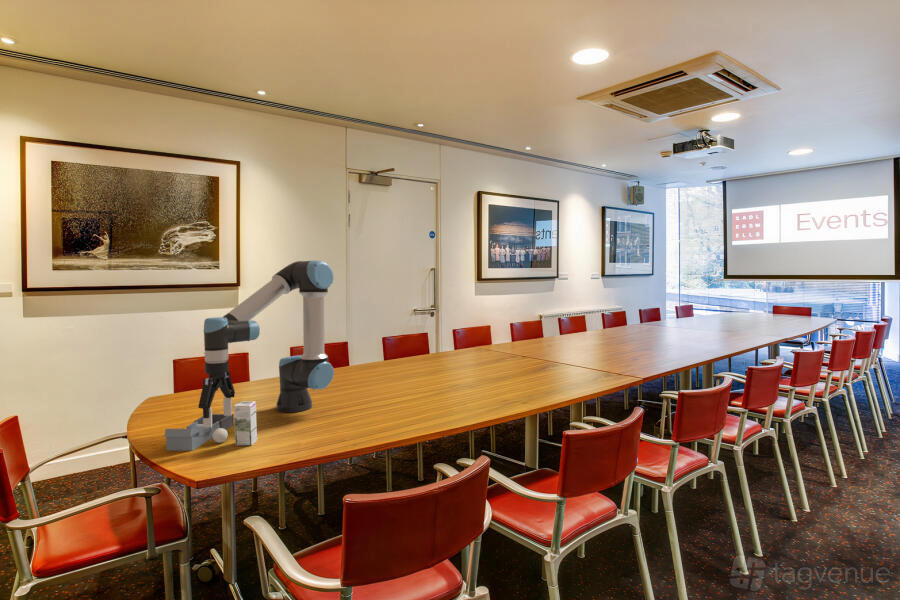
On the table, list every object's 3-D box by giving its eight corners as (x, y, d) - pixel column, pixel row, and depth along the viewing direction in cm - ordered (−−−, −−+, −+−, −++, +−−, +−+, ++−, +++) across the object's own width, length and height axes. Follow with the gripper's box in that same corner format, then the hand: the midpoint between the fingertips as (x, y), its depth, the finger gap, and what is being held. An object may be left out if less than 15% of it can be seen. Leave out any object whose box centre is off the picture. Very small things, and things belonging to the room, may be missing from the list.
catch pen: (221, 432, 182) (221, 421, 182) (194, 432, 183) (193, 421, 183) (233, 425, 191) (233, 413, 191) (207, 425, 192) (206, 414, 192)
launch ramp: (190, 451, 164) (189, 429, 163) (164, 451, 164) (163, 429, 163) (219, 432, 182) (218, 413, 182) (196, 432, 183) (195, 413, 182)
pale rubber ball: (230, 439, 175) (230, 426, 174) (223, 444, 170) (223, 430, 169) (217, 439, 175) (216, 426, 174) (209, 444, 170) (209, 430, 169)
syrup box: (257, 440, 174) (256, 400, 173) (251, 446, 168) (250, 405, 167) (241, 440, 174) (240, 400, 173) (235, 446, 168) (233, 405, 167)
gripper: (224, 355, 183) (225, 411, 184) (185, 367, 158) (187, 432, 159) (243, 355, 183) (245, 411, 184) (207, 368, 158) (209, 432, 159)
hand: (218, 421), depth 171 cm, fingers open, 13 cm apart
